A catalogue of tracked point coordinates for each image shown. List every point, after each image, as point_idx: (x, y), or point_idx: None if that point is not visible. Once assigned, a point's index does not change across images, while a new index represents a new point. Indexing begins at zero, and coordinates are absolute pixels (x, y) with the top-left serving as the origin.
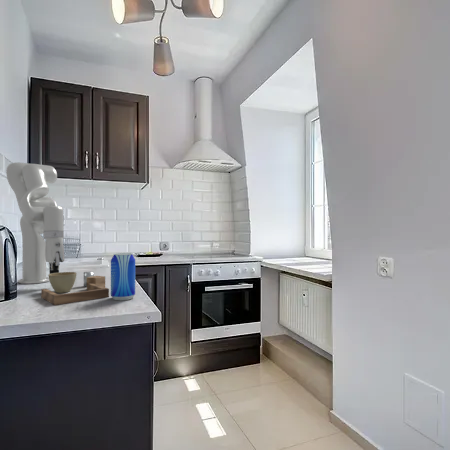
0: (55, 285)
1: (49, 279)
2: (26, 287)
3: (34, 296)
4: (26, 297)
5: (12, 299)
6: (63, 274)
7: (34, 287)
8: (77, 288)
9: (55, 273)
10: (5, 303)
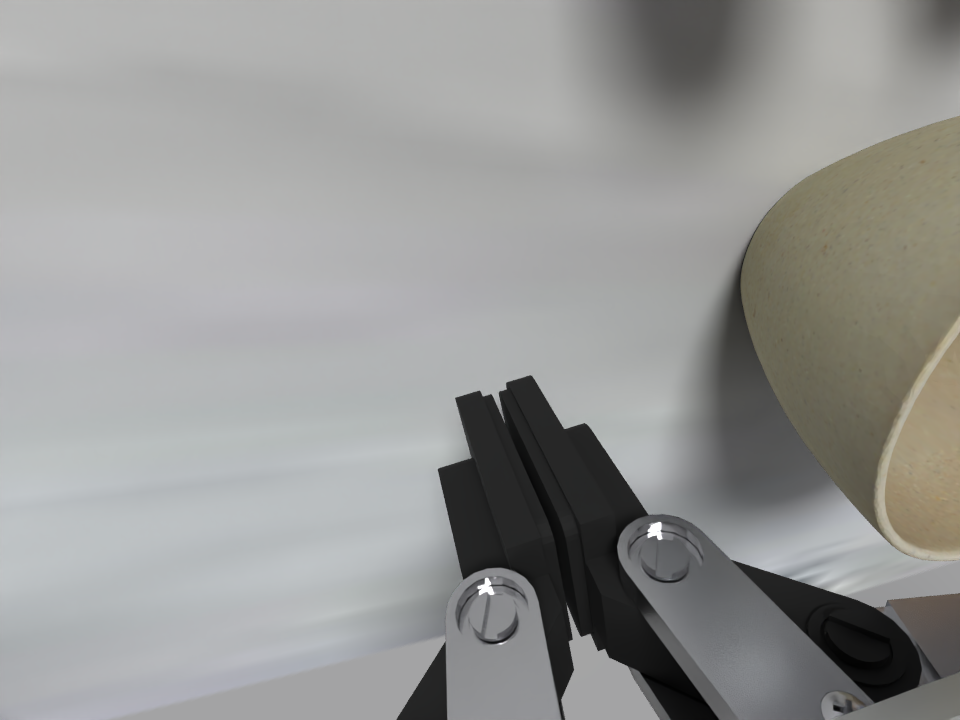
0: (956, 374)
1: (947, 488)
2: (261, 647)
3: (820, 479)
4: (810, 521)
5: (803, 581)
6: (888, 343)
7: (301, 578)
8: (733, 15)
9: (880, 492)
10: (885, 580)
